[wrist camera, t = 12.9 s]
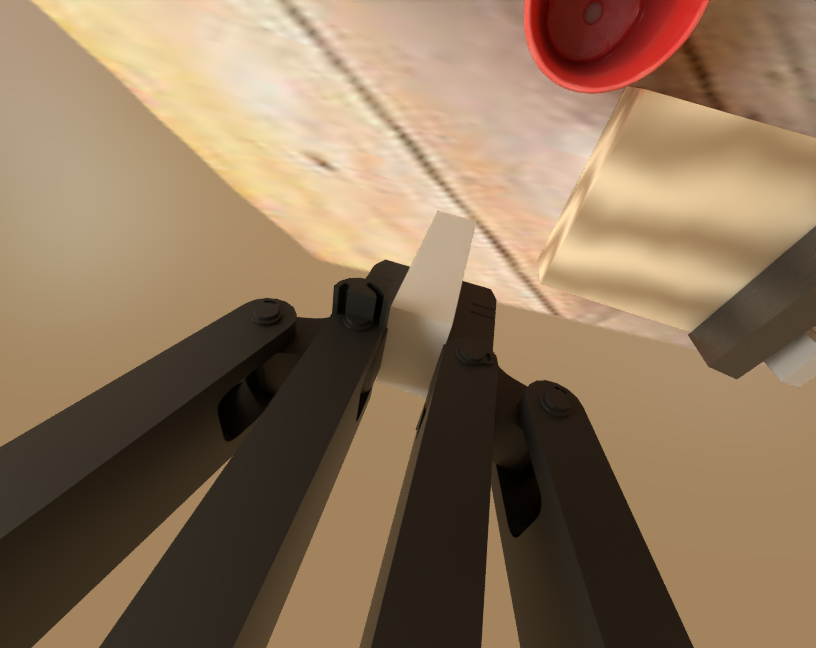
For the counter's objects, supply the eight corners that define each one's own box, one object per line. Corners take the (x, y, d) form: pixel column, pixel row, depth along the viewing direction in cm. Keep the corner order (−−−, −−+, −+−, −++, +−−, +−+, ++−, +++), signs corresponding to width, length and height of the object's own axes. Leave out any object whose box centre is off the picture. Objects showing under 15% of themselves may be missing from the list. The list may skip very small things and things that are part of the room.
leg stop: (780, 310, 34) (823, 350, 29) (797, 315, 34) (842, 356, 29) (747, 341, 37) (781, 382, 32) (762, 346, 37) (799, 387, 32)
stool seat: (626, 85, 32) (646, 89, 27) (888, 161, 31) (955, 178, 26) (537, 260, 43) (540, 284, 38) (727, 320, 42) (754, 353, 37)
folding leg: (888, 158, 26) (954, 175, 22) (932, 179, 26) (1005, 199, 22) (685, 333, 37) (705, 365, 33) (716, 347, 37) (739, 380, 34)
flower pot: (602, 109, 33) (628, 123, 26) (498, 53, 33) (494, 49, 25) (702, -40, 27) (777, -81, 19) (576, -114, 26) (601, -187, 19)
